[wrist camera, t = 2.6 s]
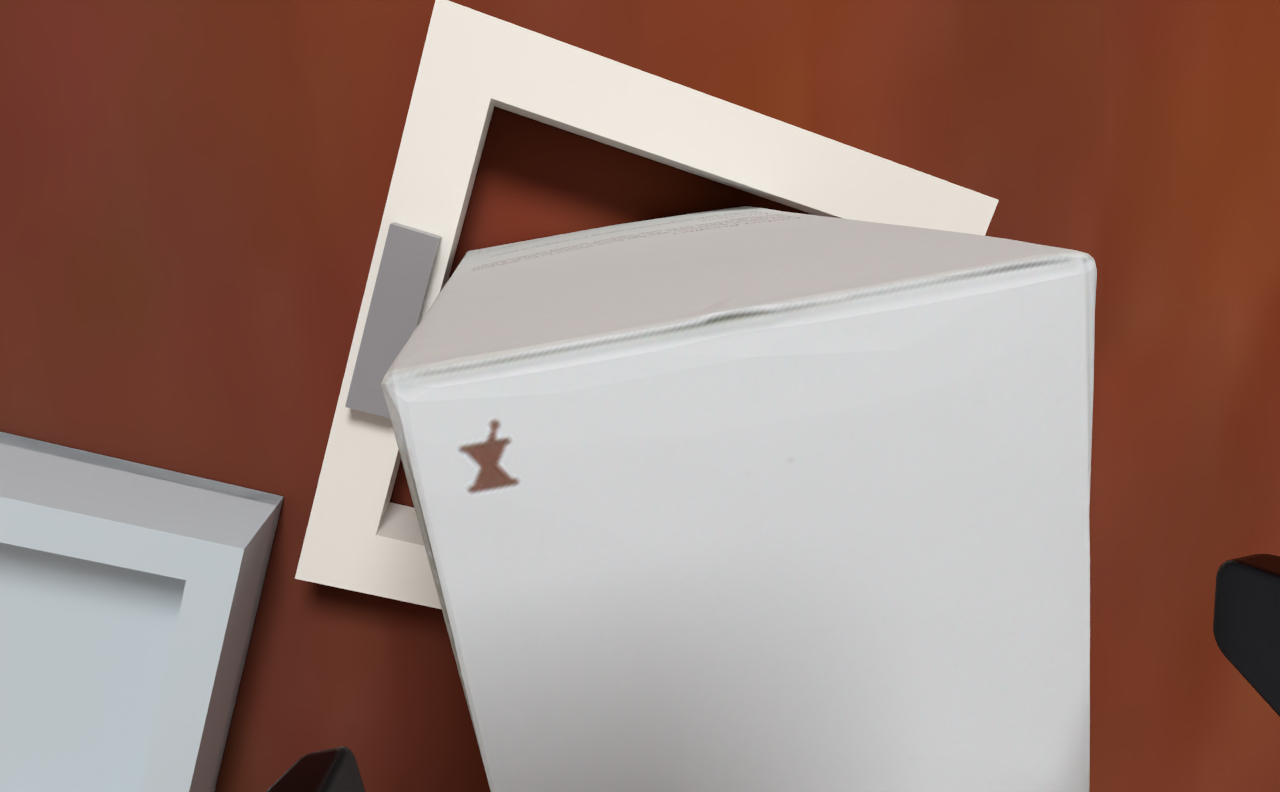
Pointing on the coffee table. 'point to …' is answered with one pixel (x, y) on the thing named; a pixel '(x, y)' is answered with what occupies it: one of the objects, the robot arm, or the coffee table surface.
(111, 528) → the tray
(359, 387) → the frame
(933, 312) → the supplement box
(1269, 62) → the coffee table surface
